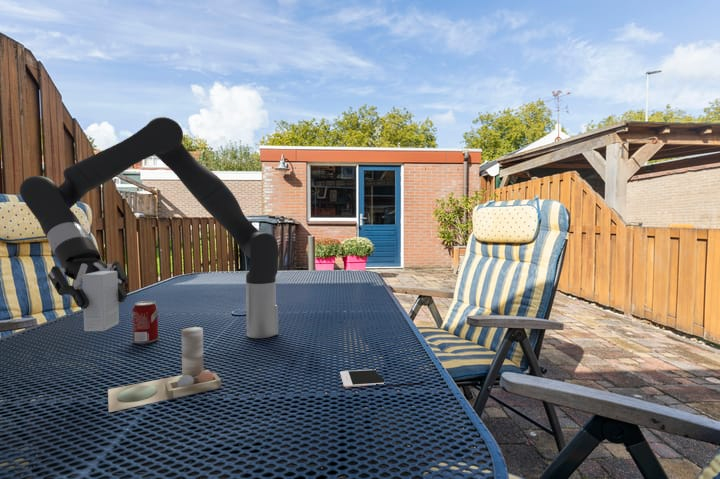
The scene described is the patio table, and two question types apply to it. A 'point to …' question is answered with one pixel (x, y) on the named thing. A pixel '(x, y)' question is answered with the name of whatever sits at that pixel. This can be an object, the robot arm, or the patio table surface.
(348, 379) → the cell phone
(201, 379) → the ball
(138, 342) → the soda can
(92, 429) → the patio table surface
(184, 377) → the ball
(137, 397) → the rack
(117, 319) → the skincare box
